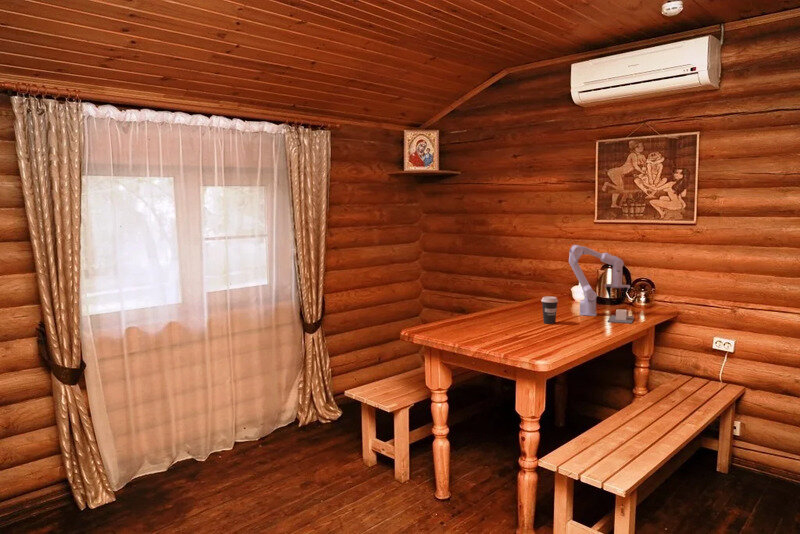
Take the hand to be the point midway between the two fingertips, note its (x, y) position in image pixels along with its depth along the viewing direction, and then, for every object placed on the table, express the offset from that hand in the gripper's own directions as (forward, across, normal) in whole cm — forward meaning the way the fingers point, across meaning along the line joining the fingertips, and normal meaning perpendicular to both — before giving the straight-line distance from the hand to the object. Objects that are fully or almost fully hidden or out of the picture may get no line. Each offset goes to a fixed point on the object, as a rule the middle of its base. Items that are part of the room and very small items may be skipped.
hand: (616, 299), depth 350 cm
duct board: (+9, +4, -14) cm, 17 cm away
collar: (+9, +4, -14) cm, 17 cm away
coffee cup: (+10, -33, -37) cm, 50 cm away
